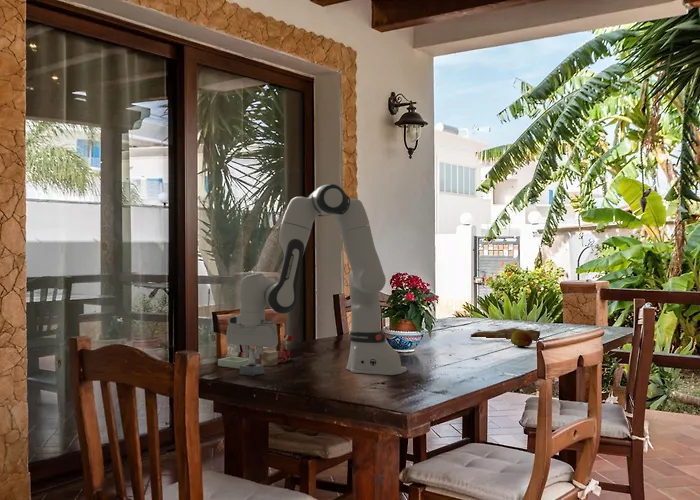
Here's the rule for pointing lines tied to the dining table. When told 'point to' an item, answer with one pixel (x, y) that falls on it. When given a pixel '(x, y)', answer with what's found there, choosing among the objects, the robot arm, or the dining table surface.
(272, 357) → the block
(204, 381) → the dining table surface
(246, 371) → the socket block
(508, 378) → the dining table surface
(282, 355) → the toy fire truck
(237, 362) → the tray
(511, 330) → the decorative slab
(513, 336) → the fruit
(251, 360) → the pin
